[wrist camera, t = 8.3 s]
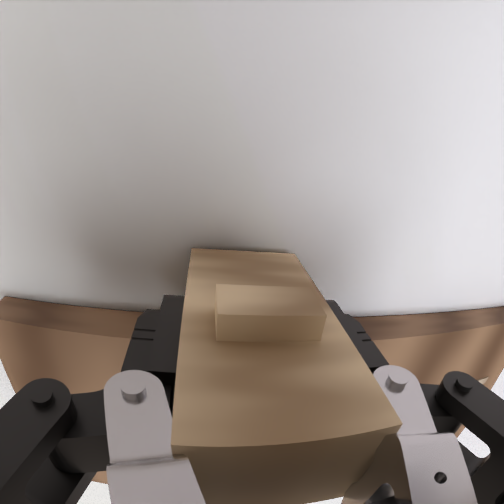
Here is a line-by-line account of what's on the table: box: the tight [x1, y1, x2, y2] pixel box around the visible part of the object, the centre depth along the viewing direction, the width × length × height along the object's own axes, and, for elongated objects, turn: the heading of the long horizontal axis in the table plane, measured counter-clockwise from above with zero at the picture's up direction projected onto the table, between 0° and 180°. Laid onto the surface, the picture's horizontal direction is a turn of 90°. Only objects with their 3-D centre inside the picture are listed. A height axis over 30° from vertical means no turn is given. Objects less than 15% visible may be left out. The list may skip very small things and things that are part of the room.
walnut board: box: [0, 296, 504, 484], centre depth 16 cm, size 32×14×2 cm, turn 84°
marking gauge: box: [171, 248, 403, 504], centre depth 10 cm, size 4×9×8 cm, turn 174°
